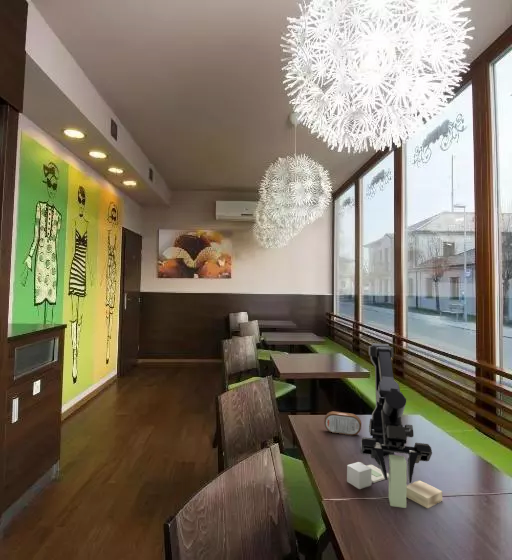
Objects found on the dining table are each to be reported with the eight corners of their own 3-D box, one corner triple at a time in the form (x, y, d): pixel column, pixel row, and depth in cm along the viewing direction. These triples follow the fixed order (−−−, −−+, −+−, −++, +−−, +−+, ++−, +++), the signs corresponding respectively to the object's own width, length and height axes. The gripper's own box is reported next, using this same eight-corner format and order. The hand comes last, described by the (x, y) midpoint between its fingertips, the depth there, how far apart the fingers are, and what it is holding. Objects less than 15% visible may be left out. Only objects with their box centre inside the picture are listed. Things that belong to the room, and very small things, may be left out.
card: (371, 466, 120) (371, 463, 120) (391, 476, 113) (391, 474, 113) (353, 471, 116) (353, 469, 116) (373, 483, 109) (373, 480, 109)
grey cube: (358, 477, 112) (358, 461, 113) (371, 485, 108) (371, 468, 108) (347, 481, 110) (347, 465, 110) (359, 489, 106) (359, 472, 106)
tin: (361, 434, 148) (361, 413, 149) (361, 437, 145) (361, 416, 146) (324, 430, 152) (324, 409, 153) (323, 432, 149) (323, 412, 150)
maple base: (419, 490, 106) (419, 480, 107) (442, 502, 101) (442, 491, 101) (404, 497, 103) (404, 486, 103) (427, 509, 97) (427, 498, 97)
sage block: (388, 497, 101) (388, 454, 102) (403, 500, 101) (403, 456, 101) (390, 505, 98) (390, 460, 98) (406, 508, 97) (406, 462, 97)
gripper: (361, 409, 106) (364, 464, 95) (430, 415, 102) (441, 474, 91) (359, 427, 113) (361, 480, 102) (423, 433, 109) (433, 489, 98)
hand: (398, 480), depth 98 cm, fingers open, 6 cm apart
